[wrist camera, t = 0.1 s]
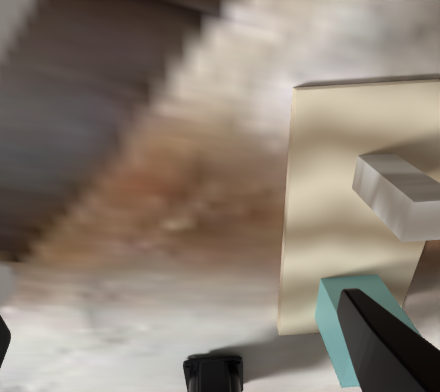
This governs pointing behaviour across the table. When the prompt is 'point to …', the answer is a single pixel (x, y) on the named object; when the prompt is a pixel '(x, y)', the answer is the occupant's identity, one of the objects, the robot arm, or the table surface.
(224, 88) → the table surface
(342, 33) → the table surface
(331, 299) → the teal rectangular block
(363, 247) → the post stand
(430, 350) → the robot arm
